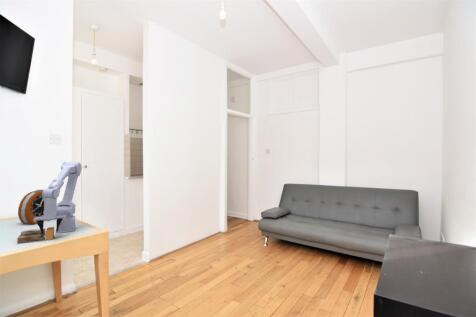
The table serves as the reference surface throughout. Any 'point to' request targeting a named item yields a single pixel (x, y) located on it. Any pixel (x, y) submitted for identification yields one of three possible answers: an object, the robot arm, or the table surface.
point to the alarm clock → (31, 207)
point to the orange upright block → (49, 233)
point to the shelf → (30, 236)
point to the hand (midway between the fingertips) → (49, 232)
